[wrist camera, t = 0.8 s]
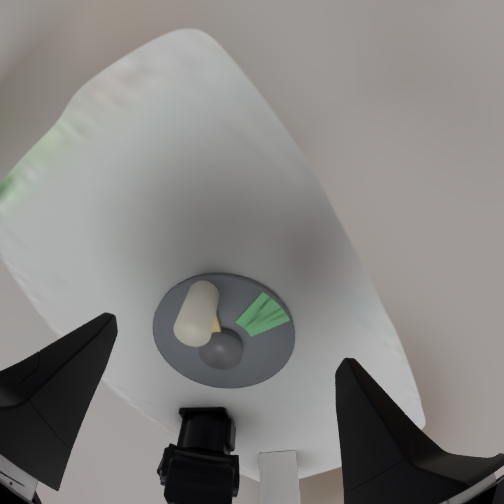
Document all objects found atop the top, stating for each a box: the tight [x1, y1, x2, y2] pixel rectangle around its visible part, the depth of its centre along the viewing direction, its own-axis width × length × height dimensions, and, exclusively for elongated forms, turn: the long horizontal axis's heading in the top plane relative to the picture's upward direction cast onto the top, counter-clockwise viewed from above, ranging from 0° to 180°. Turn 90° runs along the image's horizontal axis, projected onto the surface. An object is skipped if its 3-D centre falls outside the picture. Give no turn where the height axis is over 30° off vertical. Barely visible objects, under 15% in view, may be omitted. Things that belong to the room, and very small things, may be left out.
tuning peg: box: [174, 281, 243, 370], centre depth 21 cm, size 9×4×6 cm, turn 10°
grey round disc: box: [153, 273, 295, 388], centre depth 26 cm, size 14×14×1 cm
